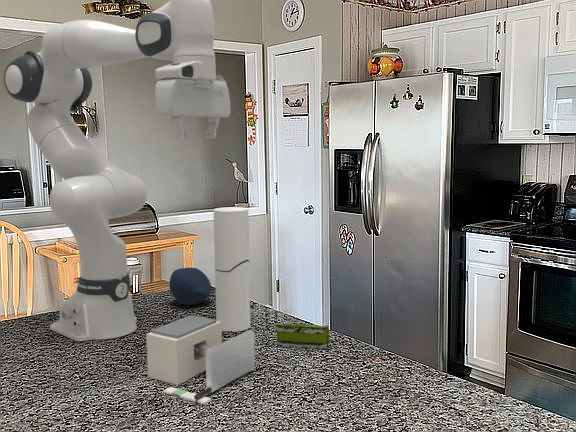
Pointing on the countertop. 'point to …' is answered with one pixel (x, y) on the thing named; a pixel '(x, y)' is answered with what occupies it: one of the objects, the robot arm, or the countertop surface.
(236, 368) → the plate
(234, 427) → the countertop surface
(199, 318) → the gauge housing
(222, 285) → the container
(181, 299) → the decorative stone
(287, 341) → the toy tank
